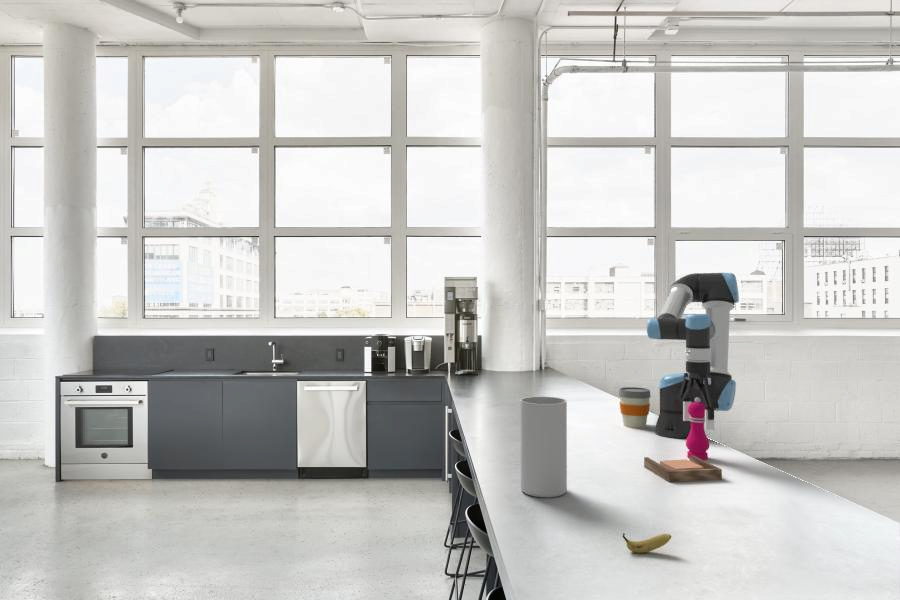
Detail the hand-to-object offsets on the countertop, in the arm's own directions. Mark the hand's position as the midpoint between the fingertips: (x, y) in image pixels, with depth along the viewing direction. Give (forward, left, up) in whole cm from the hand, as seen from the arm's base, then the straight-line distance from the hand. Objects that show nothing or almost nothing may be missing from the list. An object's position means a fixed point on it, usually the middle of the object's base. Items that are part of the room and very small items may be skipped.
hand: (698, 425), depth 201 cm
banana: (+50, +68, -11) cm, 85 cm away
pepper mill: (0, 0, -11) cm, 11 cm away
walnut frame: (+14, +15, -11) cm, 23 cm away
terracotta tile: (+14, +15, -11) cm, 23 cm away
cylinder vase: (+60, +26, -11) cm, 67 cm away
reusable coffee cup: (-1, -51, -11) cm, 52 cm away
